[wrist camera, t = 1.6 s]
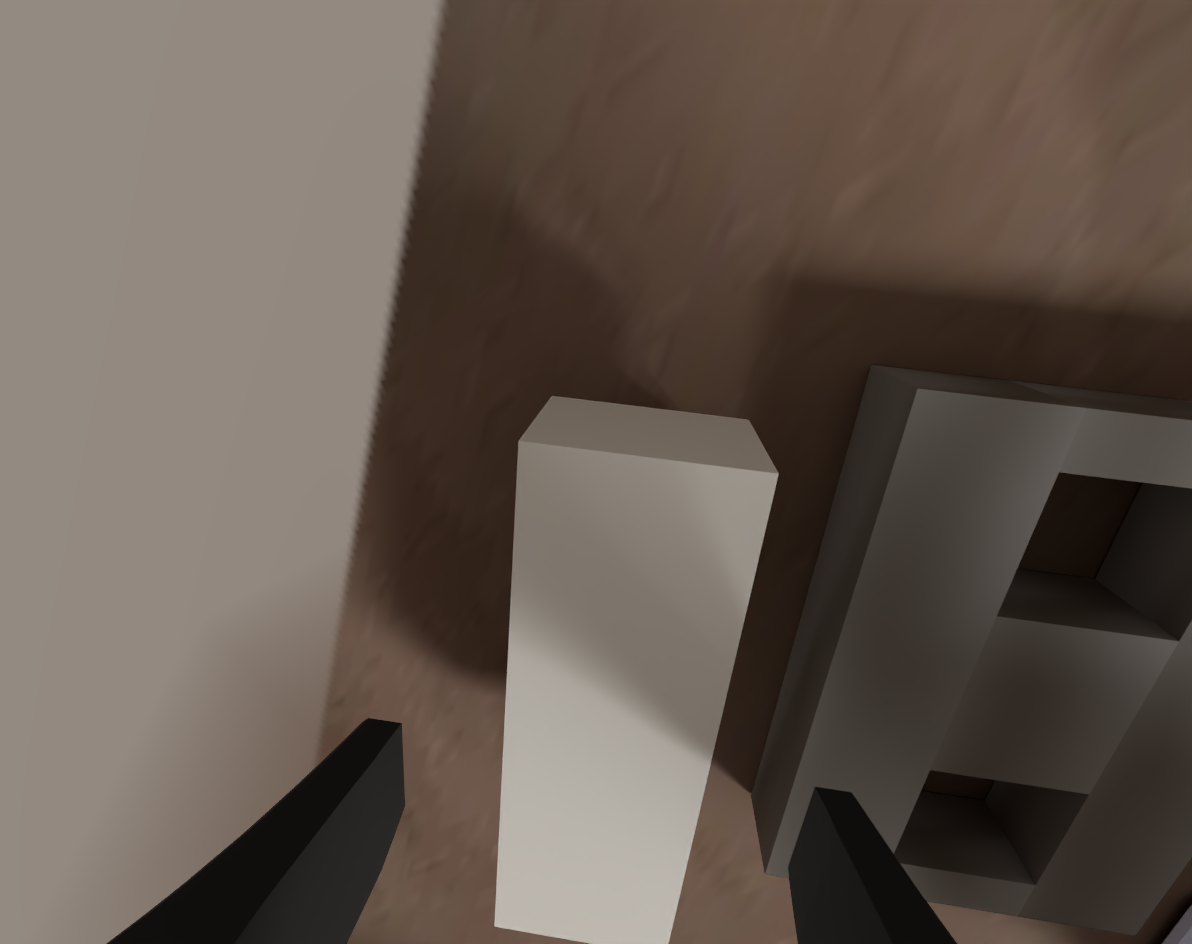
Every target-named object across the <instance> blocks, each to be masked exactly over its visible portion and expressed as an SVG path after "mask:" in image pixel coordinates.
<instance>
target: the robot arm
mask: <svg viewBox="0 0 1192 944" xmlns="http://www.w3.org/2000/svg"><path fill="white" fill-rule="evenodd" d="M404 807H405V794H404V770H403V745H402V723H397V722H390V721H384V720H377V719H370V718H368V719H366V720H365V721H363V722H362V723H361V724H360V725H359V726H358V727H357V728H356V729H355V730H354V731H353V732H352V733H351V734H350V735H349V736H348V737H347V738H346V739H345V740H344V741H343V742H342V743H341V744H340V745H338V746H337V747H336V748H335V749H334V750H333V751H332V752H331V753H330V754H329V755H328V756H327V757H326V758H325V759H324V760H323V761H322V762H321V763H320V764H319V765H318V766H317V767H316V768H315V769H313V770H312V771H311V772H310V773H309V774H308V775H307V776H306V777H305V778H304V779H303V780H302V781H301V782H300V783H299V784H298V785H297V786H295V787H294V788H293V789H292V790H291V791H290V792H289V793H288V794H287V795H286V796H284V797H283V798H282V799H281V800H280V801H279V802H278V803H277V804H276V805H275V806H273V807H272V808H271V809H270V810H269V811H268V812H267V813H266V814H265V815H263V817H261V818H260V819H259V820H258V821H257V822H256V823H255V824H254V825H252V826H251V827H250V828H249V829H248V830H247V831H246V832H245V833H243V834H242V835H241V836H240V837H239V838H238V839H236V840H235V841H234V842H233V843H232V844H231V845H229V846H228V847H227V848H226V849H224V850H223V851H222V852H221V853H220V854H219V855H217V856H216V857H215V858H214V859H213V860H211V861H210V862H209V863H208V864H207V865H205V866H204V867H203V868H202V869H201V870H200V871H198V872H197V873H196V874H195V875H194V876H192V877H191V878H190V879H189V880H188V881H187V882H186V883H184V884H183V885H182V886H180V887H179V888H178V889H177V890H175V891H174V892H173V893H172V894H170V895H169V896H168V897H167V898H165V899H164V900H163V901H162V902H160V903H159V904H158V905H156V906H155V907H154V908H153V909H151V910H150V911H149V912H148V913H146V914H145V915H144V916H142V917H141V918H140V919H138V920H137V921H136V922H135V923H133V924H132V925H131V926H130V927H128V928H127V929H125V930H124V931H123V932H121V933H120V934H119V935H117V936H116V937H115V938H113V939H112V940H111V941H110V942H108V943H107V944H347V942H348V939H349V937H350V935H351V933H352V931H353V929H354V927H355V925H356V923H357V921H358V919H359V917H360V914H361V912H362V910H363V908H364V906H365V904H366V902H367V900H368V898H369V896H370V893H371V891H372V889H373V887H374V885H375V883H376V881H377V879H378V876H379V874H380V872H381V870H382V867H383V864H384V862H385V859H386V856H387V854H388V851H389V848H390V846H391V843H392V840H393V838H394V835H395V832H396V829H397V826H398V824H399V821H400V818H401V815H402V812H403V810H404ZM788 873H789V881H790V889H791V897H792V905H793V912H794V919H795V926H796V933H797V940H798V944H957V943H956V942H955V940H954V939H953V937H952V936H951V935H950V933H949V932H948V931H947V929H946V928H945V926H944V925H943V924H942V922H941V921H940V919H939V918H938V917H937V915H936V914H935V913H934V911H933V910H932V908H931V907H930V906H929V904H928V903H927V901H926V900H925V898H924V897H923V896H922V894H921V893H920V891H919V890H918V888H917V887H916V886H915V884H914V883H913V881H912V880H911V878H910V877H909V875H908V874H907V873H906V871H905V870H904V868H903V867H902V865H901V864H900V862H899V861H898V859H897V858H896V857H895V855H894V854H893V852H892V851H891V849H890V848H889V846H888V845H887V843H886V842H885V840H884V839H883V837H882V836H881V834H880V833H879V831H878V830H877V828H876V827H875V825H874V824H873V823H872V821H871V820H870V818H869V817H868V815H867V814H866V812H865V811H864V809H863V808H862V806H861V805H860V803H859V802H858V800H857V799H856V798H855V796H854V795H853V794H852V792H847V791H840V790H834V789H827V788H821V787H815V788H814V791H813V794H812V797H811V800H810V803H809V806H808V809H807V812H806V815H805V818H804V821H803V824H802V826H801V829H800V832H799V835H798V838H797V841H796V844H795V847H794V850H793V853H792V856H791V859H790V862H789V865H788ZM1162 944H1192V905H1191V906H1190V907H1189V908H1188V909H1187V911H1186V912H1185V913H1184V915H1183V916H1182V917H1181V919H1180V920H1179V921H1178V923H1177V924H1176V925H1175V927H1174V928H1173V929H1172V931H1171V932H1170V933H1169V934H1168V936H1167V937H1166V938H1165V940H1164V941H1163V942H1162Z"/></svg>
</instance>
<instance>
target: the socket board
mask: <svg viewBox="0 0 1192 944" xmlns="http://www.w3.org/2000/svg"><path fill="white" fill-rule="evenodd" d="M1059 472H1061V473H1069V474H1077V475H1085V476H1094V477H1102V478H1110V479H1118V480H1126V481H1134V482H1143V483H1142V485H1141V487H1140V489H1139V491H1138V493H1137V495H1136V497H1135V499H1134V501H1133V503H1132V505H1131V507H1130V509H1129V511H1128V513H1127V515H1126V517H1125V519H1124V521H1123V523H1122V525H1121V527H1120V529H1119V531H1118V533H1117V535H1116V537H1115V540H1114V542H1113V544H1112V546H1111V548H1110V550H1109V552H1108V554H1107V556H1106V558H1105V560H1104V562H1103V564H1102V566H1101V568H1100V570H1099V572H1098V574H1097V576H1096V578H1095V579H1092V578H1084V577H1077V576H1069V575H1062V574H1054V573H1046V572H1039V571H1031V570H1024V569H1017V568H1018V566H1019V563H1020V561H1021V559H1022V557H1023V554H1024V552H1025V550H1026V547H1027V545H1028V543H1029V540H1030V538H1031V536H1032V533H1033V531H1034V529H1035V527H1036V524H1037V522H1038V520H1039V517H1040V515H1041V513H1042V510H1043V508H1044V506H1045V503H1046V501H1047V499H1048V496H1049V494H1050V492H1051V490H1052V487H1053V485H1054V483H1055V480H1056V478H1057V476H1058V473H1059ZM930 770H933V771H939V772H946V773H952V774H959V775H965V776H972V777H978V778H985V779H991V780H995V782H994V784H993V786H992V788H991V790H990V792H989V794H988V796H987V798H986V800H985V801H982V800H976V799H969V798H963V797H956V796H950V795H943V794H937V793H930V792H924V791H921V790H922V788H923V785H924V783H925V781H926V778H927V776H928V774H929V771H930ZM815 787H821V788H827V789H834V790H840V791H847V792H852V794H853V795H854V796H855V798H856V799H857V800H858V802H859V803H860V805H861V806H862V808H863V809H864V811H865V812H866V814H867V815H868V817H869V818H870V820H871V821H872V823H873V824H874V825H875V827H876V828H877V830H878V831H879V833H880V834H881V836H882V837H883V839H884V840H885V842H886V843H887V845H888V846H889V848H890V849H891V851H892V852H893V854H894V855H895V857H896V858H897V859H898V861H899V862H900V864H901V865H902V867H903V868H904V870H905V871H906V873H907V874H908V875H909V877H910V878H911V880H912V881H913V883H914V884H915V886H916V887H917V888H918V890H919V891H920V893H921V894H922V896H923V897H924V898H925V900H926V901H928V902H934V903H940V904H946V905H952V906H958V907H964V908H970V909H976V910H982V911H988V912H994V913H1000V914H1006V915H1012V916H1018V917H1024V918H1031V919H1037V920H1043V921H1049V922H1055V923H1061V924H1067V925H1073V926H1079V927H1085V928H1091V929H1097V930H1103V931H1109V932H1115V933H1121V934H1127V935H1133V936H1135V935H1136V934H1137V933H1138V931H1139V930H1140V929H1141V927H1142V926H1143V924H1144V923H1145V922H1146V920H1147V919H1148V917H1149V916H1150V915H1151V913H1152V912H1153V911H1154V909H1155V908H1156V906H1157V905H1158V904H1159V902H1160V901H1161V900H1162V898H1163V897H1164V895H1165V894H1166V893H1167V891H1168V890H1169V888H1170V887H1171V886H1172V884H1173V883H1174V882H1175V880H1176V879H1177V877H1178V876H1179V875H1180V873H1181V872H1182V871H1183V869H1184V868H1185V866H1186V865H1187V864H1188V862H1189V861H1190V859H1191V858H1192V401H1185V400H1177V399H1168V398H1159V397H1150V396H1142V395H1133V394H1124V393H1115V392H1106V391H1098V390H1089V389H1080V388H1071V387H1063V386H1054V385H1045V384H1036V383H1027V382H1019V381H1010V380H1001V379H992V378H984V377H975V376H966V375H957V374H949V373H940V372H931V371H922V370H913V369H905V368H896V367H887V366H878V365H871V367H870V371H869V374H868V378H867V381H866V385H865V389H864V392H863V396H862V399H861V403H860V406H859V410H858V414H857V417H856V421H855V424H854V428H853V432H852V435H851V439H850V442H849V446H848V449H847V453H846V457H845V460H844V464H843V467H842V471H841V475H840V478H839V482H838V485H837V489H836V493H835V496H834V500H833V503H832V507H831V510H830V514H829V518H828V521H827V525H826V528H825V532H824V536H823V539H822V543H821V546H820V550H819V554H818V557H817V561H816V564H815V568H814V571H813V575H812V579H811V582H810V586H809V589H808V593H807V597H806V600H805V604H804V607H803V611H802V615H801V618H800V622H799V625H798V629H797V632H796V636H795V640H794V643H793V647H792V650H791V654H790V658H789V661H788V665H787V668H786V672H785V676H784V679H783V683H782V686H781V690H780V693H779V697H778V701H777V704H776V708H775V711H774V715H773V719H772V722H771V726H770V729H769V733H768V737H767V740H766V744H765V747H764V751H763V754H762V758H761V762H760V765H759V769H758V772H757V776H756V780H755V783H754V787H753V790H752V794H751V798H752V803H753V809H754V815H755V820H756V826H757V832H758V838H759V843H760V849H761V855H762V860H763V866H764V872H765V874H766V875H772V876H778V877H784V878H789V873H788V865H789V862H790V859H791V856H792V853H793V850H794V847H795V844H796V841H797V838H798V835H799V832H800V829H801V826H802V824H803V821H804V818H805V815H806V812H807V809H808V806H809V803H810V800H811V797H812V794H813V791H814V788H815Z"/></svg>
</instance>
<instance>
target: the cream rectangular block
mask: <svg viewBox="0 0 1192 944" xmlns="http://www.w3.org/2000/svg"><path fill="white" fill-rule="evenodd" d="M778 475H779V473H778V471H777V470H776V468H775V466H774V464H773V462H772V461H771V459H770V457H769V455H768V453H767V452H766V450H765V448H764V446H763V444H762V443H761V441H760V439H759V437H758V435H757V434H756V432H755V430H754V428H753V426H752V425H751V423H750V421H749V420H748V419H740V418H731V417H723V416H715V415H707V414H698V413H690V412H682V411H674V410H665V409H657V408H649V407H641V406H632V405H624V404H616V403H608V402H599V401H591V400H583V399H575V398H566V397H558V396H551V398H550V399H549V400H548V402H547V403H546V404H545V406H544V407H543V408H542V410H541V411H540V413H539V414H538V415H537V417H536V418H535V419H534V421H533V422H532V423H531V425H530V426H529V427H528V429H527V430H526V431H525V433H524V434H523V435H522V437H521V438H520V440H519V441H518V461H517V481H516V501H515V521H514V542H513V562H512V582H511V603H510V623H509V643H508V663H507V684H506V704H505V724H504V745H503V765H502V785H501V805H500V826H499V846H498V866H497V887H496V907H495V927H500V928H506V929H512V930H517V931H523V932H529V933H534V934H540V935H545V936H551V937H557V938H562V939H568V940H574V941H579V942H585V943H590V944H668V943H669V939H670V935H671V931H672V926H673V922H674V918H675V914H676V909H677V905H678V901H679V897H680V892H681V888H682V884H683V880H684V875H685V871H686V867H687V862H688V858H689V854H690V850H691V845H692V841H693V837H694V833H695V828H696V824H697V820H698V816H699V811H700V807H701V803H702V799H703V794H704V790H705V786H706V782H707V777H708V773H709V769H710V765H711V760H712V756H713V752H714V748H715V743H716V739H717V735H718V730H719V726H720V722H721V718H722V713H723V709H724V705H725V701H726V696H727V692H728V688H729V684H730V679H731V675H732V671H733V667H734V662H735V658H736V654H737V650H738V645H739V641H740V637H741V633H742V628H743V624H744V620H745V616H746V611H747V607H748V603H749V598H750V594H751V590H752V586H753V581H754V577H755V573H756V569H757V564H758V560H759V556H760V552H761V547H762V543H763V539H764V535H765V530H766V526H767V522H768V518H769V513H770V509H771V505H772V501H773V496H774V492H775V488H776V484H777V479H778Z"/></svg>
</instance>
